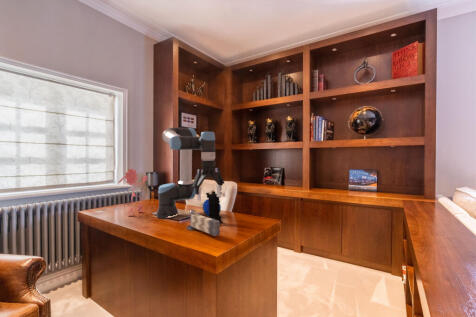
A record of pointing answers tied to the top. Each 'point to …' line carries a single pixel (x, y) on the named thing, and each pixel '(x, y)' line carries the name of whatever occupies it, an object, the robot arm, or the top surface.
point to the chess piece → (214, 206)
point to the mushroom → (206, 207)
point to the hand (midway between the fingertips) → (209, 198)
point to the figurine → (131, 178)
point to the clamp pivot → (191, 221)
